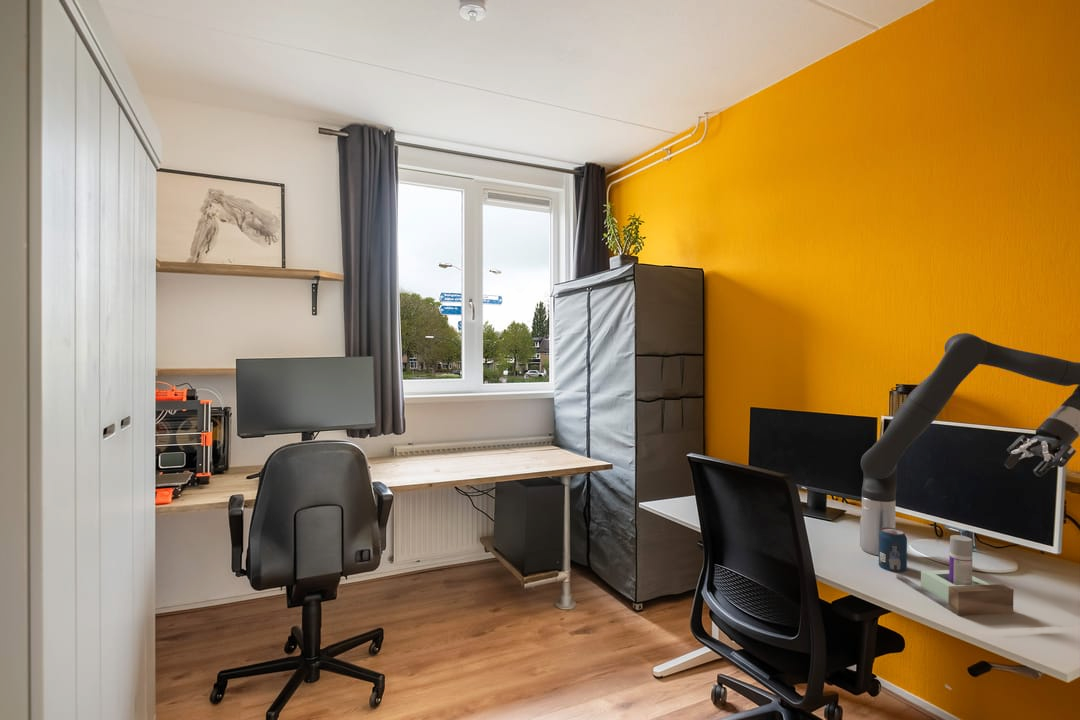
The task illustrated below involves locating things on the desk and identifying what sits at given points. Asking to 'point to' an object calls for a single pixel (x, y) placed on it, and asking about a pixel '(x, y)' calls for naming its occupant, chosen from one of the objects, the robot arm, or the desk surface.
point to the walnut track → (972, 598)
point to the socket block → (941, 583)
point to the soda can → (893, 550)
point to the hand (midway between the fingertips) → (1021, 470)
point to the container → (960, 560)
